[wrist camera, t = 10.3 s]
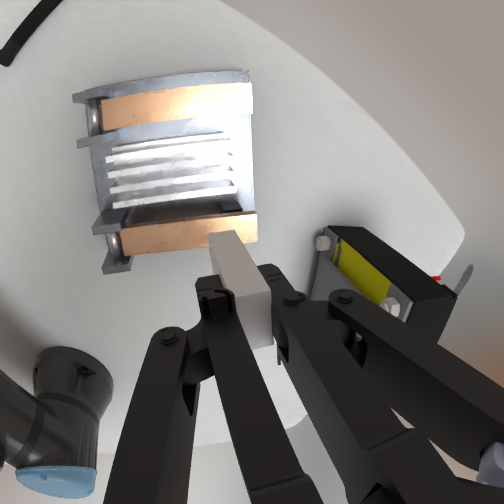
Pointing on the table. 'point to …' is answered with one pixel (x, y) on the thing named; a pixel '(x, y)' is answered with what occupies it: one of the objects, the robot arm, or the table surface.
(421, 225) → the table surface
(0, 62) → the long black strip
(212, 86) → the lever
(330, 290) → the electrical component
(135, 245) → the lever
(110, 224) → the heatsink base
